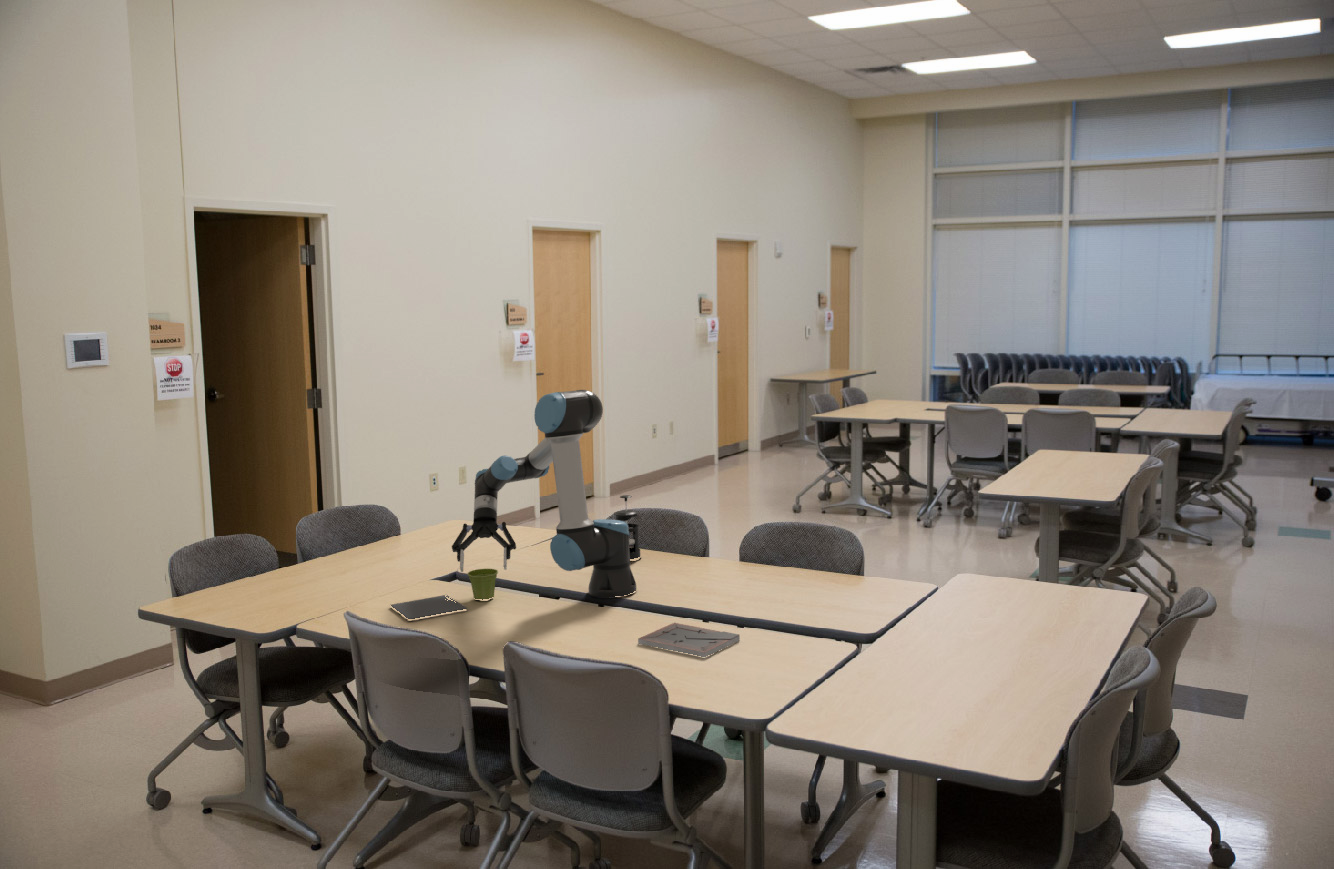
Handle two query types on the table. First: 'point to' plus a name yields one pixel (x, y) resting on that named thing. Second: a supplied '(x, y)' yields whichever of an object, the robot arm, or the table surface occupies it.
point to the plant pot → (483, 583)
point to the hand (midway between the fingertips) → (483, 568)
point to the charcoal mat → (427, 607)
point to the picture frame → (689, 639)
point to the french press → (626, 516)
